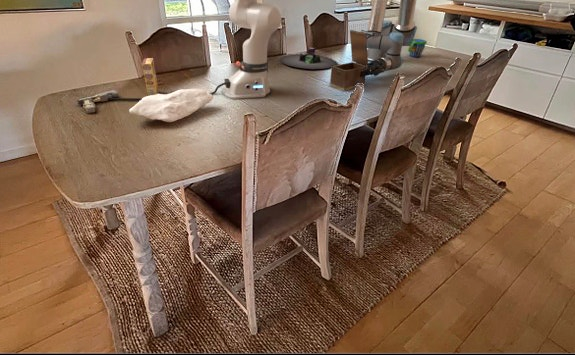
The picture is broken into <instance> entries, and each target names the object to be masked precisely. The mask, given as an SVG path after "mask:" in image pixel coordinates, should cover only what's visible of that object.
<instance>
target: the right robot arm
mask: <svg viewBox="0 0 575 355" xmlns="http://www.w3.org/2000/svg"><path fill="white" fill-rule="evenodd" d="M387 5H388V0H373V1H372V4H371V10H370V14H369V15H370V16H369V20H368V26H367V31H368V32H373V33H375V36H374V37H370V38H368V39H367V56H368V65H367V70H365V71H361V75H360V77H364V76H366V77H367V76H374V77H377V76H379V75H380V74H382V73H385V72H388V71H393V70H396V69H399V68H400V67H402V65H403V63H404V60H403V56H402V55H401V53H402V49H403V47H409V46H411V45H412V42H413V39H415V35H416V33H417V30H418V26H416V22H415V21H414V19H415V18H414V17H415V10H416V5H417V0H399V9H398V16H397V20H396V21H395V22H394V23H393V21H392V20H385V16H386V10H387V7H388V6H387ZM367 37H368V35H367ZM357 64H359V63H357ZM360 65H362V64H360ZM364 66H366V65H364Z"/></svg>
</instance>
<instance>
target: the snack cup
mask: <svg viewBox="0 0 575 355" xmlns="http://www.w3.org/2000/svg"><path fill="white" fill-rule="evenodd" d="M427 42H428V41H427V40H425V39H422V38H414V39H413V42H412V45H411V46H408V50H407V51H408V53H409V56H410V57H414V58H420V57H421V56H422V54H423V52H424V50H425V48H426V44H428V43H427Z"/></svg>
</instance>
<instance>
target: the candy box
mask: <svg viewBox="0 0 575 355" xmlns="http://www.w3.org/2000/svg"><path fill="white" fill-rule="evenodd" d="M141 66H142V73H143V78H144V82H145V87H146V92H147V96H150V95H156V94H159V91H160V90H159V84H158V79H157V73H156V66H155V62H154V58H153V57H151V58H150V57H149V58H146V57H145V58H143V60H142V63H141Z"/></svg>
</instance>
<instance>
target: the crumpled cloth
mask: <svg viewBox="0 0 575 355" xmlns="http://www.w3.org/2000/svg"><path fill="white" fill-rule="evenodd" d="M210 93H211V92H208V91H206V90H203V89H201V88H187V89H186V88H185V89H184V88H183V89H177V90H175V91H173V92H171V93H167V94H163V93H158V94H156V95H150V96H148V95H146V96H144V97H141V98H142V99H141V100H138V102H137V103H136V104H134V105H133V106H132V107H131V108H129V114H130V115H135V116H140V117H145V118H146V119H149V120H152V121H155V120H158V121H163V122H166V123H174V122H176V121H178V120H181V119H183V118H185V117H188V116H190V115H192V114H193V113H195V112H196V111H197V110H199V109H200V108H202V107H204V106H206V105H207V104H210V102H211V101H212V100H213V99H214V98H213V97H214V96H213V95H214V94H210Z"/></svg>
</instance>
